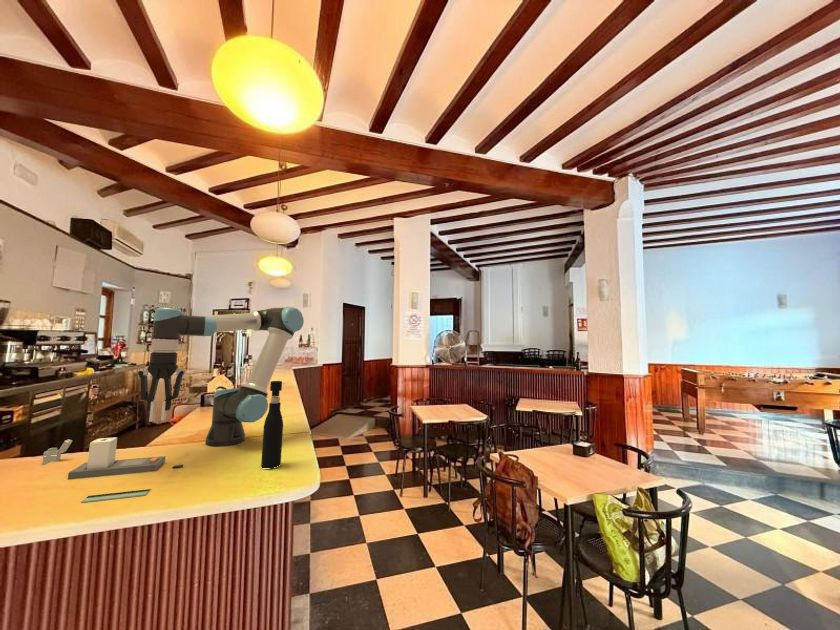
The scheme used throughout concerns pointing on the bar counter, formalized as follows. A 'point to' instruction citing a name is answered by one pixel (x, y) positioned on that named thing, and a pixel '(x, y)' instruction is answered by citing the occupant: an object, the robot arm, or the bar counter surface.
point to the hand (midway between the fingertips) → (157, 420)
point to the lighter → (55, 453)
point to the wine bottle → (273, 430)
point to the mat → (115, 495)
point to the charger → (102, 453)
